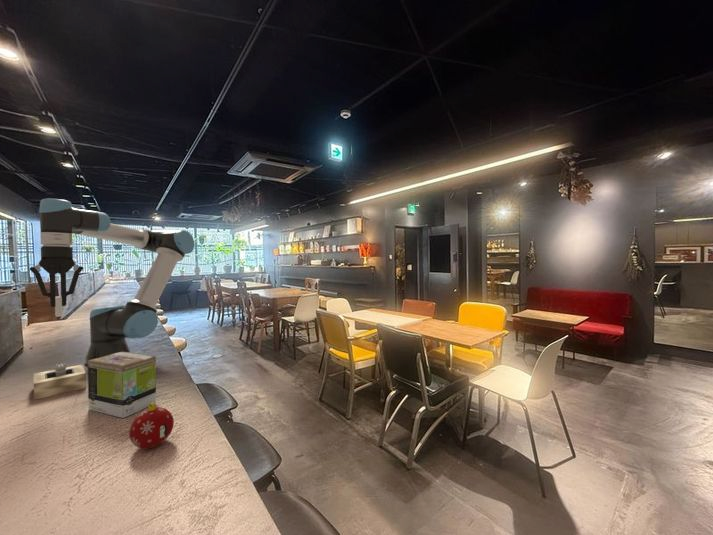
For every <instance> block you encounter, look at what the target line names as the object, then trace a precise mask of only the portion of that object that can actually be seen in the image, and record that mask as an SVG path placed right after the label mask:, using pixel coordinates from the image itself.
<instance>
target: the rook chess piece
mask: <svg viewBox="0 0 713 535" xmlns="http://www.w3.org/2000/svg"><path fill="white" fill-rule="evenodd" d="M66 367H68V365H67V363H66V362H63V363H62V362H60V363H57V364H55V366H54V368H53V370H56V372H55V373H56V377H57V376H62V375H66V371H67V370H66Z"/></svg>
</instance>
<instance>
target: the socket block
mask: <svg viewBox="0 0 713 535" xmlns="http://www.w3.org/2000/svg"><path fill="white" fill-rule="evenodd" d="M66 370H67V371H66V375H62V376H57V377H56V373H55V372H56V370H55V369H50V370H45V371H41V372H35V373H33V400H39V399H43V398H48V397H52V396H56V395H57V396H58V395H61V394H65V393H69V392H74V391H78V390H82V389H86V388H87V373H86V370H85V368H84V365H83V364H78V365H77V364H76V365H72V366H67V367H66Z"/></svg>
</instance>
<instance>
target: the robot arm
mask: <svg viewBox="0 0 713 535" xmlns="http://www.w3.org/2000/svg"><path fill="white" fill-rule="evenodd" d="M39 202H40V203H39V211H38V213H39V225H40V226H39V227H40V235H39V236H40V245H42V246H41V247H40V260H39V262H38V264H36V265H34V266H31V267H29V271H31V272H32V273H33V275H34V276H35V279H36V281H37V284H38V286H39V289H40V291H41V294H42V296H43V297H44V296H45V297H49V305H50V307H51V308H54V314H55V318H57V317H58V318H59V317H62V316H63V307H66V306H67V297H68V296H69V295H73V294H74V293H75V289H76V286H77V282H78V279H79V277H80V273H81V272H83V270H84V267H83V266H81V265H78V264H76V262H75V261H74V256H73V255H74V254H73V253H74V252H73V251H74V250H73V247H72V246H73V235H79V236H83V237H84V236H85V237H89V238H93V239H100V240H104V241H109V242H114V243H119V244H125V245H129V246H133V247H134V248H136V249H139V250H144V251H147V252H152V253H157V256H156V257H155V260H154V261H153V263H152V264H151V266H150V268H149V270H148V272H147V274H146V276H145V278H144V280H143V281H142V283H141V284H140V287H139V289H138V290H137V292H136V294H135V296H134V298H133V299H132V300H129V301H127V302H126V304H125V305H124V304H121V305H120V304H119V305H112V306H104V307H97V308H93V309H91V311H90V313H89V314H90V315H89V319H88V320H89V330H90V333H89V334H90V336H89V339H90V344H89V347H88V350H87V353H86V355H85V358H84V363H85V364H86V365H87V366H88V361H89V360H92V359H96V358H100V357H104V356H107V355H111V354H115V353H119V352H130V353H131V350H130V349H131V348H130V347H129V345H128V342H127V340H126V338H128V339H143V338H146V337H148V336H150V335H151V334H152V333H153V332H154V331H155V330H156V328H157V327H158V324H159V320H158V318H159V317H158V314H157V312H158V309H157V308H156V305H158V304H157V303H158V302H159V300H160V297H161V295H162V294H163V293H164V292H163V291H164V290H165V288H166V286H167V283H168V281H169V280H170V278H171V275H172V274H173V271H174V270H175V267H176V265H177V263H178V262H182V261H183V259H184V257H185V255H187V254H190V253H192V252H193V251H194V249H195V241H194V236H193V235H192V234H191V233H190V232H189V231H187V230H185V229H158V230H157V229H156V230H153V229H152V230H151V229H144V228H138V229H135V228H131V227H129V226H128V227H127V226H125V225H124V226H123V225H119V224H115V223H111V218H110V216H109V215H108V214H107V213H105V212H100V211H98V210H96V211H95V210H88V209H80V208H75V207H73V205H72V202H71V201H70V200H66V199H59V198H43V199H41V200H40V201H39ZM41 268H42V269H43V270H44V271H45V272H46V273H48V274H49V291H47V288H46V286H45V283H44V280H43V278H42V275H41V273H40V272H41V271H42V269H41ZM72 268H73V271H74V272H73V274H72V275H73V276H72V278H71V281H70V285H69V287H68V290H67V273H68V272H69V271H70V270H71V269H72ZM56 274H59V276H60V277H59V278H60V296H57V295H56ZM85 364H84V365H85Z"/></svg>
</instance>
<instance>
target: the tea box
mask: <svg viewBox="0 0 713 535" xmlns="http://www.w3.org/2000/svg"><path fill="white" fill-rule="evenodd" d="M156 358H157V357H156V355H152V354H144V353H137V352H131V351H130V352H119V353H115V354H111V355H107V356H104V357H100V358H96V359H92V360H89V361H88V365H87V374H88V375H87V383H88V386H87V390H88V391H87V393H88V395H87V396H88V397H87V398H88V399H87V400H88V401H87V404H88V410H90V411H94V412H98V413H102V414H106V415H110V416H114V417H118V418H122V419H123V418H124V419H125V418H126V417H129V416H132V415H134V414H136V413H138V412H140V411H142V410H145V409H146V408H147V409H148V408H149V406H150V404H151V403H154V405H156V402H157V381H156V380H157V378H156V377H157V371H156V370H157V369H156V367H157V366H156V365H157V359H156Z"/></svg>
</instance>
